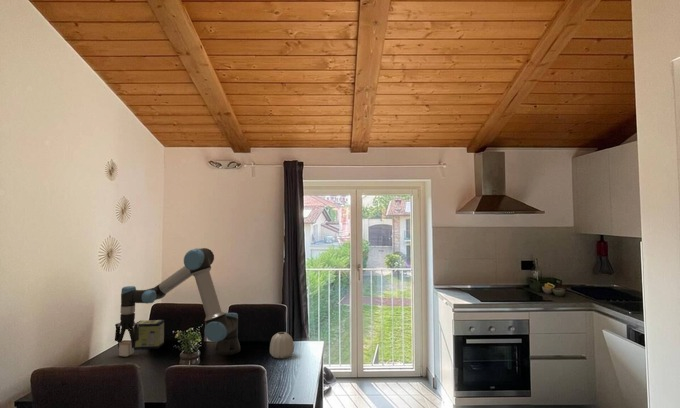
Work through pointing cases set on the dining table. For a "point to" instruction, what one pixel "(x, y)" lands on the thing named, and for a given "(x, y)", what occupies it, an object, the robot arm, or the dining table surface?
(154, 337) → the protein box
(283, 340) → the vase
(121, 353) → the beige faceted cup
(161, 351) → the dining table surface
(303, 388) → the dining table surface
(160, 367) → the dining table surface
